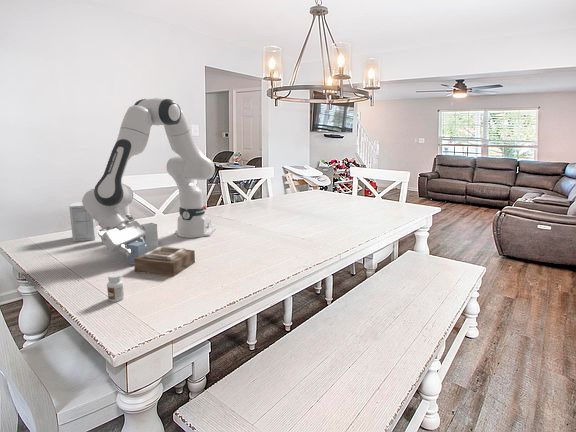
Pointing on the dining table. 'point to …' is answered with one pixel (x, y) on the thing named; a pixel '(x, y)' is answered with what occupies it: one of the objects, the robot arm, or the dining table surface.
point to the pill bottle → (115, 288)
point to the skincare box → (150, 236)
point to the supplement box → (82, 223)
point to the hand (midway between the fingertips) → (137, 250)
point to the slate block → (136, 250)
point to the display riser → (165, 261)
